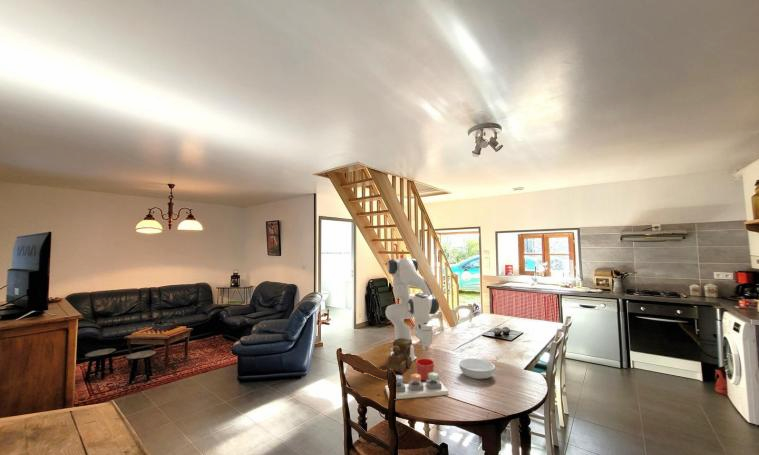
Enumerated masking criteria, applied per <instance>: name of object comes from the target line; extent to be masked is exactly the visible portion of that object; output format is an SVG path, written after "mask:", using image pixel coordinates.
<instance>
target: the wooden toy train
mask: <svg viewBox="0 0 759 455" xmlns="http://www.w3.org/2000/svg"><path fill="white" fill-rule="evenodd" d="M411 345H412V346H413V340H412V339H411V340H409V339H397V340H395V339H394V340H393V342H392V346H394V347H392V348H393V349H392V350H393V352H394V354H392V355H391V356H389V357H390V358H389V359H387V362H386V369H387V368H391V369H393V370H394V371H393V372H396V373H397V372H398V373H400V374H402V375H403V374H404V373H405V371H406V368H407V369H409V368H411V367H412V364H413V363H412V362H413V361H412V359H411V357H410V349H411V347H410V346H411Z"/></svg>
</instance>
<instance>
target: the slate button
mask: <svg viewBox="0 0 759 455" xmlns="http://www.w3.org/2000/svg"><path fill="white" fill-rule="evenodd" d="M395 375H396V380H397V386H400V383H402V382H403V383H404V377H403V375H400V374H395Z"/></svg>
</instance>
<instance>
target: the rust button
mask: <svg viewBox="0 0 759 455" xmlns="http://www.w3.org/2000/svg"><path fill="white" fill-rule="evenodd" d="M410 381H414V385H418V382H419V381H421V382H422V380H421V375H420V374H418V373H412V374H410Z"/></svg>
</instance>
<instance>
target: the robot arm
mask: <svg viewBox="0 0 759 455" xmlns="http://www.w3.org/2000/svg"><path fill="white" fill-rule="evenodd" d="M418 269H419V263H418V261H417V258H411V257H407V256H406V257H402V258H396V259H389V260H388V261H387V263H386V270H387V272H388V274H390V275H393V276H392V277H393V280H392V282H393V283H392V284H393V285H392V286H393V295H394V296H395V297H396V298H397V299H399V300H400V303H393V304H389V305H388V306H386V307H385V311H384V312H385V317H386V318H387V319H388V320H389V321H390V322H391V323H392V325H393V328H394V333H395V334H394V341H395V340H397V339H409V340H412V333H411V332H412V330H411V327H410V325H408V324H406V323H405V321H404V320H407V319H413V318H414V319H413V320H414V322H413V323H414V324H413V325H414V336H415V337H416V338H417V339H418V340H419V344H420V348H421V349H422V350H426V346H430V345H432V344H433V343H432V342H433V331H432V330H433V329H434V328H433V325H432V321H431V316H430V315H436V313H438V311H439V310H440V303H439V301H438V299H437V298H436V296H435V294H434V293H433V292H432V289H431V287H430V285H429V283H428V281H427V280H426V279H425V277H423V276H422V275H420V273H418ZM410 287H414V288H418V289H420V291H421V292H418V293H415V294H414V297H412V296H411V294H410ZM392 346H393V345H392ZM393 347H394V346H393ZM393 347H391V348H390V356H391V355H392V354H394V352H393V350H392V349H393ZM410 347H411V349H410V357H411V359H412V362H414V360H418V359H417V356H416V355H415V346H413V344H412V345H411V346H410ZM390 356H389V357H390Z"/></svg>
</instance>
